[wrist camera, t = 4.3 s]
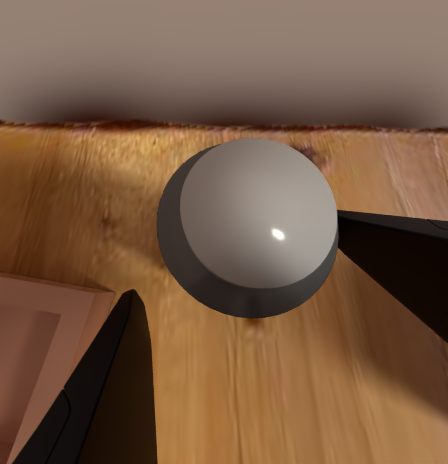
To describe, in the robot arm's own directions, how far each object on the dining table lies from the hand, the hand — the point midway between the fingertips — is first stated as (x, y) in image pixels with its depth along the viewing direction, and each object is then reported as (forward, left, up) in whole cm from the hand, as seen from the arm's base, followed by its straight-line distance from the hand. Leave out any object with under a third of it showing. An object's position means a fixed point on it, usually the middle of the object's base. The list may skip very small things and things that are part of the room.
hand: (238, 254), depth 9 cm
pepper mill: (0, 0, -8) cm, 8 cm away
